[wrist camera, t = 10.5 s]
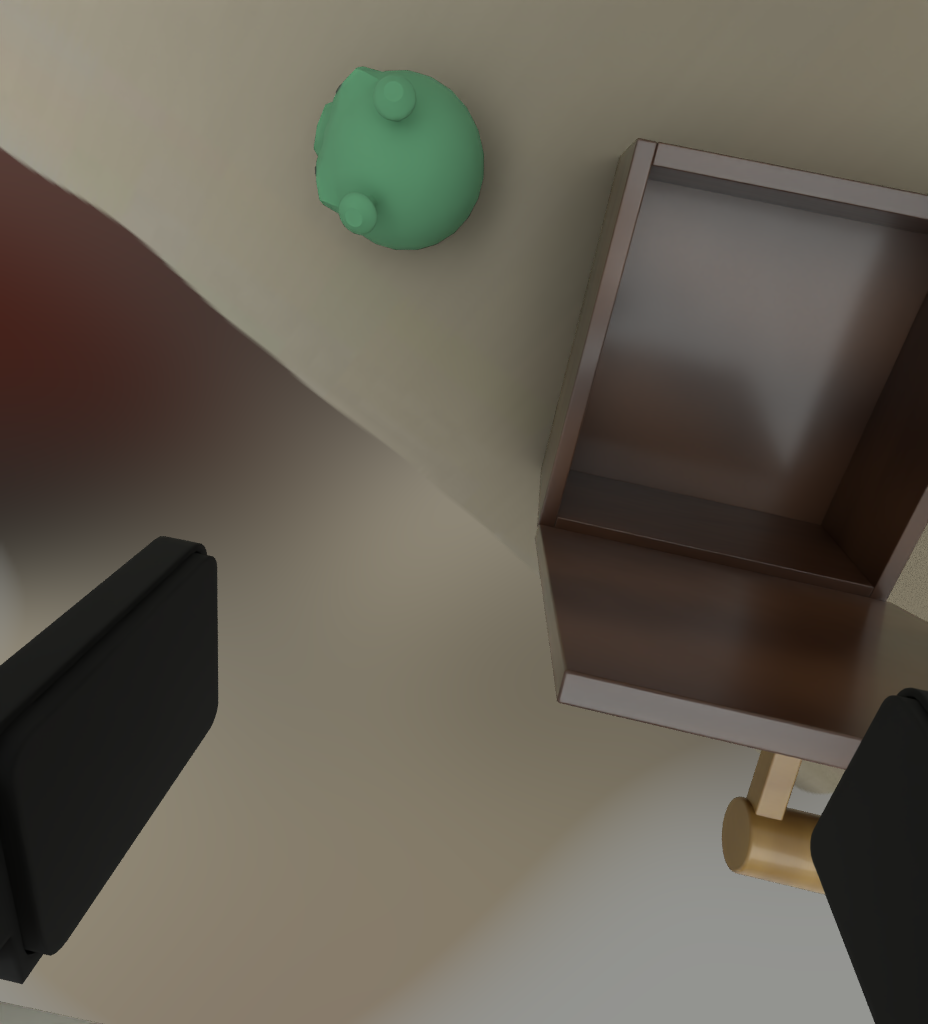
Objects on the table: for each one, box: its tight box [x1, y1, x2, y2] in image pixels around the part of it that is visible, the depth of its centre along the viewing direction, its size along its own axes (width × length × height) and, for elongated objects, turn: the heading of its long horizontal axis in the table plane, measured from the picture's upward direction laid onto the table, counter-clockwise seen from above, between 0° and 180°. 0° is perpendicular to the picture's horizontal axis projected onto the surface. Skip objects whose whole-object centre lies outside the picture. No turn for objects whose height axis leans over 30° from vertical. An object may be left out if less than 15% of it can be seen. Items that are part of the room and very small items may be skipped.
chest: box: [537, 138, 928, 601], centre depth 32 cm, size 17×17×8 cm
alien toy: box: [314, 67, 484, 250], centre depth 29 cm, size 7×8×10 cm
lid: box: [535, 525, 928, 894], centre depth 23 cm, size 17×17×5 cm
